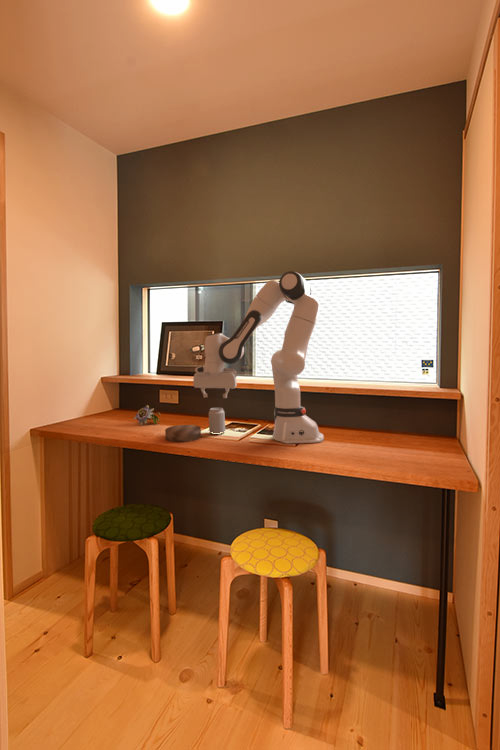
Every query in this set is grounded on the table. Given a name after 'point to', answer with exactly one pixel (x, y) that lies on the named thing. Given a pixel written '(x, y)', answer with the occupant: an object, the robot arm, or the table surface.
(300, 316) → the robot arm
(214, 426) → the can
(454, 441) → the table surface
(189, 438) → the plinth
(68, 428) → the table surface
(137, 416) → the passion flower
